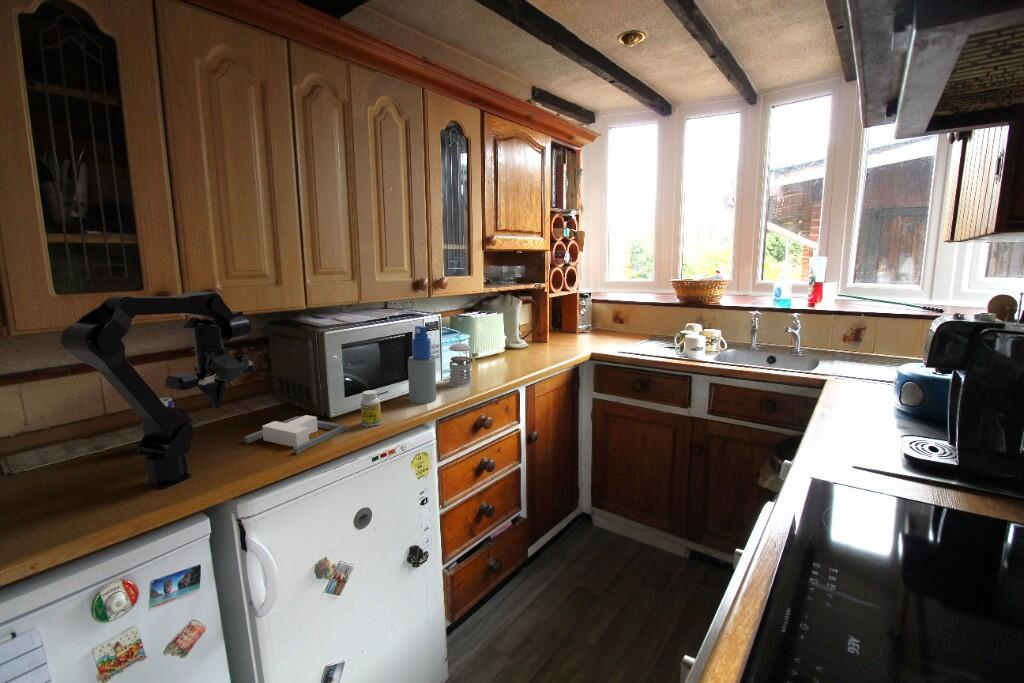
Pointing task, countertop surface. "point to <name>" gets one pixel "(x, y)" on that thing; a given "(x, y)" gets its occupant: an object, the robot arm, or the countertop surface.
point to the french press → (460, 366)
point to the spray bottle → (421, 369)
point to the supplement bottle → (370, 408)
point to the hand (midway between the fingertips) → (216, 407)
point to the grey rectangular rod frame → (321, 424)
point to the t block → (290, 431)
